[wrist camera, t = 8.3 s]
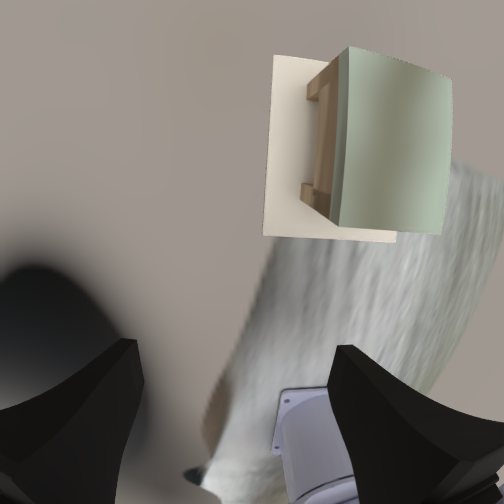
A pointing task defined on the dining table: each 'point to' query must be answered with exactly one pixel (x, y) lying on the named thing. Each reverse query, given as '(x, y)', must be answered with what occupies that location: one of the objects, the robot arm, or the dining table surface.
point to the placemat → (298, 158)
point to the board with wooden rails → (381, 144)
